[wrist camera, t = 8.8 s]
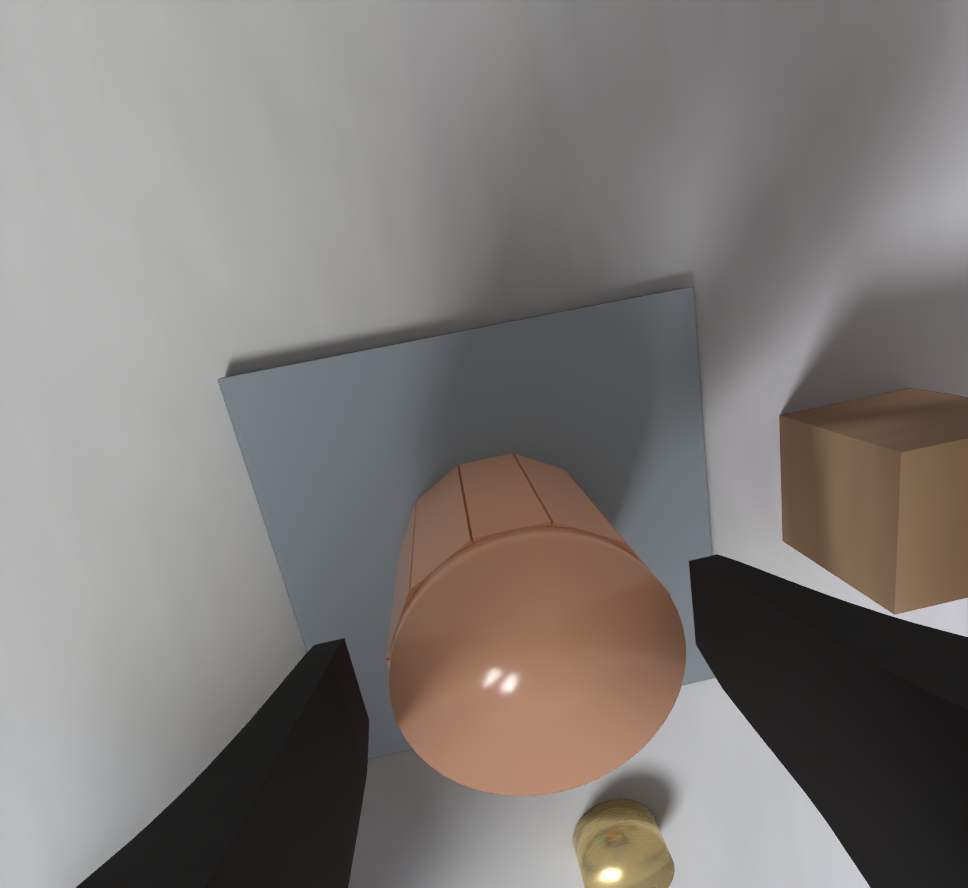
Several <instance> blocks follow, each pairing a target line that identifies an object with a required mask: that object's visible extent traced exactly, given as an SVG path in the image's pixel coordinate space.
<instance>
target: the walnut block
mask: <svg viewBox="0 0 968 888" xmlns="http://www.w3.org/2000/svg"><path fill="white" fill-rule="evenodd" d="M779 417H780V456H781V494H782V532H783V541H784V542H785V543H787V544H788V545H790V546H791V547H793V548H794V549H796V550H797V551H799V552H800V553H802V554H803V555H805V556H806V557H808V558H809V559H811V560H812V561H814V562H816V563H817V564H819V565H820V566H822V567H823V568H825V569H826V570H828V571H829V572H831V573H832V574H834V575H835V576H837V577H838V578H840V579H841V580H843V581H844V582H846V583H847V584H849V585H850V586H852V587H854V588H855V589H857V590H858V591H860V592H861V593H863V594H864V595H866V596H867V597H869V598H870V599H872V600H873V601H875V602H876V603H878V604H879V605H881V606H882V607H884V608H885V609H887V610H888V611H890V612H891V613H893V614H899V613H903V612H907V611H912V610H916V609H920V608H925V607H929V606H933V605H938V604H942V603H946V602H950V601H955V600H959V599H963V598H968V397H963V396H957V395H951V394H945V393H939V392H932V391H926V390H920V389H914V388H908V389H903V390H899V391H894V392H889V393H884V394H880V395H875V396H870V397H865V398H861V399H856V400H851V401H846V402H841V403H837V404H832V405H827V406H822V407H818V408H813V409H808V410H803V411H799V412H794V413H789V414H784V415H780V416H779Z"/></svg>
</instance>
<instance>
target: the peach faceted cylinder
mask: <svg viewBox="0 0 968 888" xmlns="http://www.w3.org/2000/svg"><path fill="white" fill-rule="evenodd" d="M459 467H460V468H459ZM459 467H458V466H456V467H455V468H454V469H453V470H451V471H450V472H449V473H448V474H447V475H446V476H444V477H443V478H442V479H441V480H440V481H439V482H437V483H436V484H435V485H434V486H433V487H432V488H430V489H429V490H428V491H427V492H426V493H425V494H423V495H422V496H421V497H420V498H419V499H418V500H417V502H415V505H414V508H413V511H412V514H411V517H410V520H409V523H408V526H407V529H406V532H405V535H404V538H403V541H402V544H401V547H400V550H399V558H398V566H397V574H396V582H395V590H394V598H393V606H392V614H391V622H390V630H389V638H388V646H387V654H386V663H387V666H388V670H389V694H390V699H391V704H392V709H393V713H394V715H395V718H396V721H397V723H398V726H399V728H400V730H401V731H402V733H403V735H404V737H405V739H406V740H407V742H408V743H409V744H410V746H411V747H412V748H413V749H414V751H415V752H416V753H417V754H418V755H419V756H420V757H421V758H422V759H423V760H424V761H425V762H426V763H427V764H428V765H429V766H431V767H432V768H434V769H435V770H436V771H438V772H439V773H441V774H442V775H444V776H445V777H447V778H449V779H451V780H453V781H455V782H457V783H459V784H462V785H464V786H467V787H470V788H472V789H475V790H479V791H483V792H487V793H491V794H499V795H507V796H534V795H545V794H550V793H556V792H561V791H565V790H568V789H572V788H575V787H578V786H581V785H584V784H586V783H589V782H591V781H593V780H596V779H598V778H600V777H602V776H604V775H605V774H607V773H609V772H611V771H613V770H614V769H616V768H617V767H619V766H620V765H622V764H623V763H625V762H626V761H628V760H629V759H630V758H631V757H633V756H634V755H635V754H636V753H637V752H638V751H640V750H641V749H642V748H643V747H644V746H645V745H646V744H647V743H648V742H649V741H650V740H651V738H652V737H653V736H654V735H655V734H656V732H657V731H658V730H659V729H660V727H661V726H662V725H663V723H664V722H665V720H666V718H667V717H668V715H669V713H670V712H671V710H672V708H673V706H674V704H675V701H676V699H677V697H678V694H679V692H680V688H681V685H682V681H683V677H684V672H685V664H686V641H685V635H684V629H683V625H682V622H681V619H680V616H679V613H678V610H677V608H676V606H675V604H674V603H673V601H672V599H671V595H670V594H669V592H668V591H667V589H666V588H665V587H664V586H663V585H662V583H661V582H660V581H659V580H658V579H657V577H656V576H655V575H654V574H653V573H652V572H651V570H650V569H649V568H648V567H647V566H646V564H645V563H644V562H643V561H642V560H641V558H640V557H639V556H638V555H637V554H636V552H635V551H634V550H633V549H632V548H631V547H630V545H629V544H628V543H627V542H626V541H625V539H624V538H623V537H622V536H621V535H620V533H619V532H618V531H617V530H616V529H615V527H614V526H613V525H612V524H611V523H610V522H609V520H608V519H607V518H606V517H605V516H604V514H603V513H602V512H601V511H600V510H599V508H598V507H597V506H596V505H595V504H594V503H593V501H592V500H591V499H590V498H589V497H588V496H587V494H586V493H585V492H584V491H583V490H582V489H581V488H580V486H579V485H578V484H577V483H576V482H575V481H574V479H573V478H572V477H571V476H570V475H569V474H568V473H567V471H566V470H564V469H562V468H559V467H556V466H553V465H549V464H546V463H543V462H540V461H537V460H534V459H530V458H527V457H524V456H521V455H518V454H515V453H514V456H513V454H512V453H511V454H507V455H502V456H497V457H493V458H488V459H483V460H478V461H474V462H469V463H464V464H459Z"/></svg>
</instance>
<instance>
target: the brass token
mask: <svg viewBox="0 0 968 888" xmlns="http://www.w3.org/2000/svg"><path fill="white" fill-rule="evenodd" d="M573 845H574V848H575V852H576V856H577V860H578V863H579V867H580V871H581V874H582V878H583V882H584V886H585V888H668V887H669V885H670V884H671V882H672V879H673V876H674V863H673V860H672V858H671V855H670V853H669V851H668V848H667V846H666V844H665V842H664V839H663V837H662V835H661V833H660V830H659V828H658V826H657V823H656V821H655V819H654V817H653V814H652V813H651V811H650V810H649V809H648V808H647V807H646V806H644V805H643V804H641V803H639V802H636V801H632V800H626V799H618V800H611V801H607V802H604V803H602V804H599V805H597V806H595V807H593V808H592V809H591V810H589V811H588V812H587V813H585V814H584V815H583V817H582V818H581V819H580V820H579V822H578V823H577V825H576V827H575V829H574V833H573Z"/></svg>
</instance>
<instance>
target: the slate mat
mask: <svg viewBox="0 0 968 888" xmlns="http://www.w3.org/2000/svg"><path fill="white" fill-rule="evenodd" d="M218 382H219V385H220V389H221V392H222V395H223V398H224V401H225V404H226V407H227V410H228V413H229V416H230V419H231V422H232V425H233V428H234V431H235V434H236V437H237V440H238V443H239V446H240V449H241V452H242V455H243V458H244V462H245V465H246V468H247V471H248V474H249V477H250V480H251V483H252V486H253V489H254V492H255V495H256V498H257V501H258V504H259V507H260V510H261V513H262V516H263V519H264V522H265V525H266V528H267V531H268V535H269V538H270V541H271V544H272V547H273V550H274V553H275V556H276V559H277V562H278V565H279V568H280V571H281V574H282V577H283V580H284V583H285V586H286V589H287V592H288V595H289V598H290V601H291V605H292V608H293V611H294V614H295V617H296V620H297V623H298V626H299V629H300V632H301V635H302V638H303V641H304V644H305V647H306V650H307V652H308V651H309V650H310V649H311V648H312V647H313V646H314V645H316V644H320V643H325V642H329V641H334V640H338V639H342V638H345V641H346V645H347V648H348V651H349V655H350V658H351V661H352V665H353V668H354V671H355V675H356V678H357V681H358V685H359V688H360V691H361V695H362V698H363V701H364V704H365V708H366V711H367V714H368V718H369V743H368V759H371V758H375V757H380V756H384V755H388V754H393V753H397V752H401V751H405V750H410V749H413V748H412V747H411V746H410V744H409V743H408V742H407V740H406V739H405V737H404V735H403V733H402V731H401V730H400V728H399V726H398V723H397V721H396V718H395V715H394V713H393V709H392V704H391V699H390V694H389V670H388V666H387V663H386V654H387V646H388V638H389V630H390V622H391V614H392V606H393V598H394V590H395V582H396V574H397V566H398V558H399V550H400V547H401V544H402V541H403V538H404V535H405V532H406V529H407V526H408V523H409V520H410V517H411V514H412V511H413V508H414V505H415V502H417V500H418V499H419V498H420V497H421V496H422V495H423V494H425V493H426V492H427V491H428V490H429V489H430V488H432V487H433V486H434V485H435V484H436V483H437V482H439V481H440V480H441V479H442V478H443V477H444V476H446V475H447V474H448V473H449V472H450V471H451V470H453V469H454V468H455V467H456V466H458V467H459V464H464V463H469V462H474V461H478V460H483V459H488V458H493V457H497V456H502V455H507V454H511V453H512V454H513V456H514V453H515V454H518V455H521V456H524V457H527V458H530V459H534V460H537V461H540V462H543V463H546V464H549V465H553V466H556V467H559V468H562V469H564V470H566V471H567V473H568V474H569V475H570V476H571V477H572V478H573V479H574V481H575V482H576V483H577V484H578V485H579V486H580V488H581V489H582V490H583V491H584V492H585V493H586V494H587V496H588V497H589V498H590V499H591V500H592V501H593V503H594V504H595V505H596V506H597V507H598V508H599V510H600V511H601V512H602V513H603V514H604V516H605V517H606V518H607V519H608V520H609V522H610V523H611V524H612V525H613V526H614V527H615V529H616V530H617V531H618V532H619V533H620V535H621V536H622V537H623V538H624V539H625V541H626V542H627V543H628V544H629V545H630V547H631V548H632V549H633V550H634V551H635V552H636V554H637V555H638V556H639V557H640V558H641V560H642V561H643V562H644V563H645V564H646V566H647V567H648V568H649V569H650V570H651V572H652V573H653V574H654V575H655V576H656V577H657V579H658V580H659V581H660V582H661V583H662V585H663V586H664V587H665V588H666V589H667V591H668V592H669V594H670V595H671V599H672V601H673V603H674V604H675V606H676V608H677V610H678V613H679V616H680V619H681V622H682V625H683V629H684V635H685V641H686V664H685V672H684V677H683V681H682V685H681V686H683V685H687V684H691V683H695V682H700V681H704V680H708V679H712V678H716V677H715V676H714V674H713V672H712V671H711V669H710V668H709V666H708V664H707V662H706V661H705V659H704V657H703V656H702V654H701V652H700V651H699V649H698V647H697V646H696V641H695V629H694V618H693V606H692V594H691V582H690V570H689V561H690V560H695V559H699V558H704V557H708V556H712V551H711V536H710V522H709V507H708V492H707V478H706V463H705V448H704V434H703V419H702V404H701V390H700V375H699V360H698V345H697V331H696V316H695V301H694V287H686V288H681V289H676V290H670V291H665V292H660V293H655V294H650V295H645V296H640V297H634V298H629V299H624V300H619V301H614V302H609V303H604V304H598V305H593V306H588V307H583V308H578V309H573V310H567V311H562V312H557V313H552V314H547V315H542V316H537V317H531V318H526V319H521V320H516V321H511V322H506V323H501V324H495V325H490V326H485V327H480V328H475V329H470V330H465V331H459V332H454V333H449V334H444V335H439V336H434V337H429V338H423V339H418V340H413V341H408V342H403V343H398V344H392V345H387V346H382V347H377V348H372V349H367V350H362V351H356V352H351V353H346V354H341V355H336V356H331V357H326V358H320V359H315V360H310V361H305V362H300V363H295V364H290V365H284V366H279V367H274V368H269V369H264V370H259V371H254V372H248V373H243V374H238V375H233V376H228V377H223V378H220V379H218ZM459 468H460V467H459Z"/></svg>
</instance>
